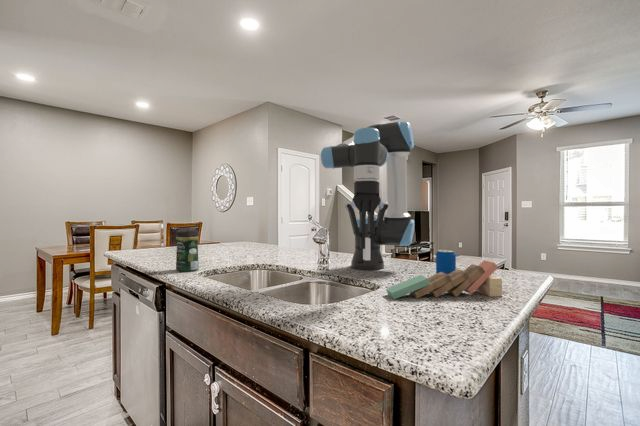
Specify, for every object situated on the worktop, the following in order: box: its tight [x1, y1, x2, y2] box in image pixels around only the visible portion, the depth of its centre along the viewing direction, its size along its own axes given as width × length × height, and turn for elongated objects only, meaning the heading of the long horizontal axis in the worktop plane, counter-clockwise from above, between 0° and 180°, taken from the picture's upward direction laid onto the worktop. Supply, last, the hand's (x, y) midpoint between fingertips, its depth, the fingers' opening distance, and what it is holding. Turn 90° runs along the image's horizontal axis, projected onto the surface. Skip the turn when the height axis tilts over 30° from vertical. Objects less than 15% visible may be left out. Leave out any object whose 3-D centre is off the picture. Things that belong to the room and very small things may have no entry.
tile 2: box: [409, 272, 452, 299], centre depth 96 cm, size 5×2×12 cm
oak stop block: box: [475, 274, 503, 297], centre depth 99 cm, size 7×4×5 cm, turn 7°
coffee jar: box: [175, 227, 200, 273], centre depth 138 cm, size 10×8×19 cm
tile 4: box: [446, 263, 485, 298], centre depth 98 cm, size 5×2×12 cm
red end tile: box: [463, 259, 499, 295], centre depth 98 cm, size 5×2×12 cm
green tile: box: [386, 274, 430, 300], centre depth 95 cm, size 5×2×12 cm
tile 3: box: [428, 268, 469, 299], centre depth 97 cm, size 5×2×12 cm
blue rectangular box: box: [435, 249, 457, 274], centre depth 111 cm, size 6×6×12 cm
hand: (366, 259), depth 94 cm, fingers closed
